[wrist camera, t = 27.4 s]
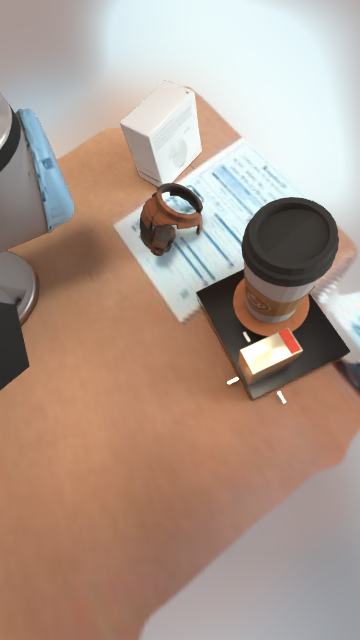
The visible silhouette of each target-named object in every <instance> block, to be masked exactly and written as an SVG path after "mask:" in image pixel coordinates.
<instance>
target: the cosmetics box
mask: <svg viewBox="0 0 360 640" xmlns="http://www.w3.org/2000/svg"><path fill="white" fill-rule="evenodd" d="M120 125H121V127H122V130H123V133H124V135H125V138H126V141H127V143H128V146H129V149H130V152H131V154H132V157H133V160H134V162H135V165H136V168H137V171H138V173H139V176H140V177H141V178H143V179H145V180H147V181H148V182H150V183H152V184H153V185H155V186H157V187H158V188H159V187H160V186H161V185H163V184H166V183H172V182H173V181H174V180H175V179H176V178H177V177H178V176H179V175H180V174H181V173H182V172H183V171H184V170H185V169H186V168H187V167H188V166H189V164H190V163H191V162H192V161H193V160H194V159H195V158H196V157H197V156H198V155H199V154H200V153H201V152H202V149H201V143H200V135H199V128H198V120H197V112H196V104H195V95H194V91H192V90H190V89H187V88H184V87H182V86H179V85H177V84H174V83H172V82H169V81H166V80H164V81H163V82H162V83H161V84H160V85H159V86H158V87H157V88H156V89H155V90H154V91H153V92H152V93H150V94H149V95H148V96H147V97H146V98H145V99H144V100H143V101H142V102H141V103H140V104H139V105H138V106H137V107H136V108H135V109H134V110H133V111H131V112H130V113H129V114H128V115H127V116H126V117H125V118H124V119H123V120H122V121H121V122H120Z"/></svg>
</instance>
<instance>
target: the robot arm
mask: <svg viewBox="0 0 360 640" xmlns="http://www.w3.org/2000/svg"><path fill="white" fill-rule="evenodd" d="M73 214H74V203H73V200H72V197H71V194H70V192H69V189H68V186H67V184H66V181H65V179H64V176H63V174H62V171H61V169H60V167H59V164H58V162H57V159H56V157H55V155H54V153H53V150H52V148H51V146H50V144H49V141H48V139H47V137H46V134H45V132H44V130H43V128H42V126H41V124H40V122H39V120H38V118H37V117H36V116H35V113H34V112H33V111H32V110H30V109H25V110H22V109H19V110H18V111H17V112H16V113H14V111H13V110H12V108H11V107H10V105H9V104H8V102H7V101H6V100H5V98H4V97H3V96H2V95H1V94H0V390H1V389H3V388H4V387H5V386H6V385H7V384H9V383H10V382H11V381H12V380H14V379H15V378H16V377H17V376H18V375H20V374H21V373H22V372H23V371H24V370H26V369H27V368H28V367H29V362H28V357H27V352H26V348H25V343H24V339H23V334H22V330H21V324H22V323H23V322H24V321H25V320H26V319H27V318H28V316H29V315H30V313H31V312H32V310H33V308H34V306H35V303H36V301H37V297H38V292H39V282H38V277H37V274H36V272H35V270H34V269H33V267H32V266H31V265H30V264H29V263H28V262H27V261H25V260H24V259H23V258H22V257H20V256H19V255H17V254H15V253H12V252H9V251H6V250H8V249H10V248H13V247H15V246H17V245H20V244H22V243H25V242H27V241H29V240H32V239H34V238H36V237H39V236H41V235H43V234H46V233H49V232H51V231H52V230H53V229H54V228H56V227H58V226H60V225H62V224H64V223H66V222H68V221H69V220H70V219H71V217H72V216H73Z"/></svg>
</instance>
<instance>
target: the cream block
mask: <svg viewBox="0 0 360 640" xmlns="http://www.w3.org/2000/svg"><path fill="white" fill-rule="evenodd" d="M302 351H303V350H302V348H301V347H300V345H299V344H298V342H297V340H296V339H295V337H294V336H293V334H292V332H291V331H290V329H289V328H288V327H287V328H285V329H283V330H281V331H279V332H277V333H274V334H272V335H270V336H268V337H266V338H264V339H262V340H260V341H258V342H256V343H253V344H251V345H249V346H247V347H245V348H243V349H241V350H240V353H239V362H238V367H239V368H240V370H241V372H242V374H243V376H244V378H245V380H246V382H247V384H248V385H249V386H250V385H252V384H254V383H256V382H258V381H260V380H262V379H264V378H266V377H268V376H270V375H273V374H275V373H277V372H279V371H281V370H283V369H285V368H287V367H289V366H290V365H291V364H292V363H293V362H294V360H295V359H296V358H297V357H298V356H299V355H300V353H301V352H302Z"/></svg>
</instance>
